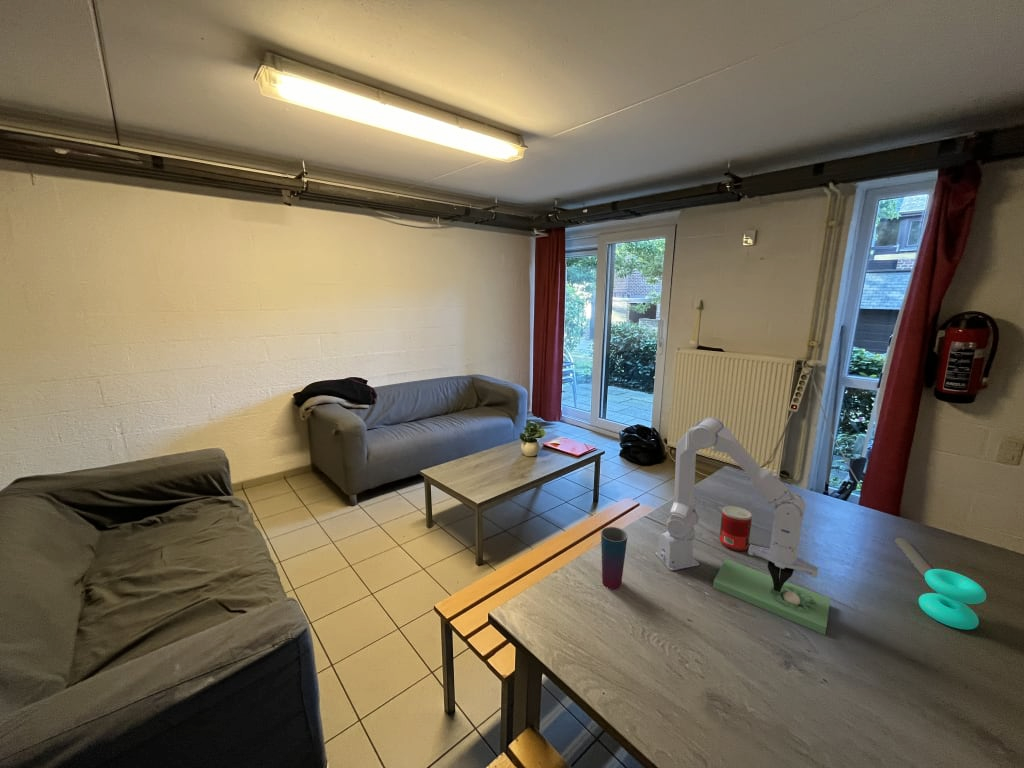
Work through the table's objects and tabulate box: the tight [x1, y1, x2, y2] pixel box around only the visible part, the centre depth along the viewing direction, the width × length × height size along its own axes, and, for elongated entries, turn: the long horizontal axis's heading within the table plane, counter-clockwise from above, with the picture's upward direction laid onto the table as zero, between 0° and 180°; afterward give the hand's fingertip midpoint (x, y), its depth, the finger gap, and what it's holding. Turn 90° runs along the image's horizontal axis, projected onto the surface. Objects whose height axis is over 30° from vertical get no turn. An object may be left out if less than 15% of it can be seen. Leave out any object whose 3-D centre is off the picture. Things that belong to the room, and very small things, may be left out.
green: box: [712, 558, 831, 636], centre depth 105 cm, size 24×12×2 cm, turn 49°
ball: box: [782, 591, 801, 607], centre depth 102 cm, size 4×4×4 cm
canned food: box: [719, 505, 753, 552], centre depth 125 cm, size 8×8×11 cm
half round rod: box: [894, 537, 933, 578], centre depth 118 cm, size 4×20×2 cm, turn 157°
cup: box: [600, 526, 628, 590], centre depth 109 cm, size 7×7×15 cm
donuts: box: [918, 568, 987, 631], centre depth 97 cm, size 10×10×10 cm
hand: (777, 588), depth 103 cm, fingers closed
